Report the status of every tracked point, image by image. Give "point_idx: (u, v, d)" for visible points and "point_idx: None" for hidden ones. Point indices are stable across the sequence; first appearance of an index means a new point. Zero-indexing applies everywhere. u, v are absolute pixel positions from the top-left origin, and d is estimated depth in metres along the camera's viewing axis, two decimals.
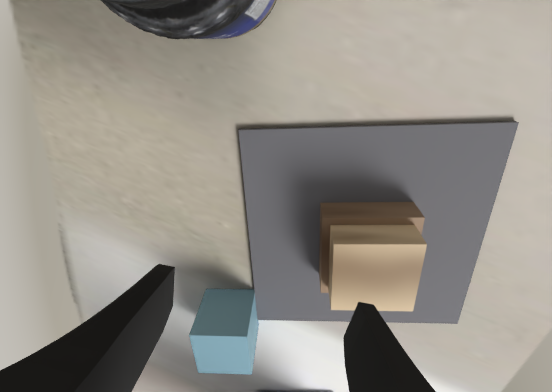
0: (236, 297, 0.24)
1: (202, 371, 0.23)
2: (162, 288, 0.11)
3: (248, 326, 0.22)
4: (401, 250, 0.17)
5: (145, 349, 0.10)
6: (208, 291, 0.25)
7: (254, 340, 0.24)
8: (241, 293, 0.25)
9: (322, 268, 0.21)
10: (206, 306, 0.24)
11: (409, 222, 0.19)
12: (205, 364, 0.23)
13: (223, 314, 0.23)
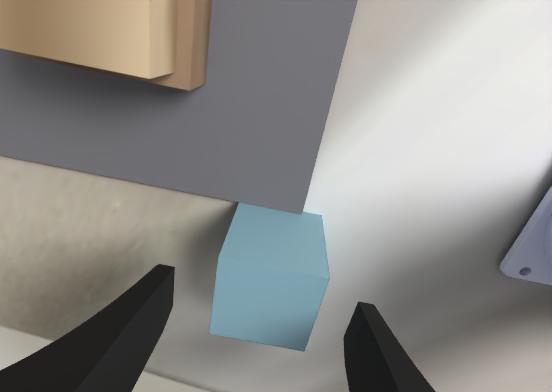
0: None
1: (302, 345, 0.13)
2: (162, 288, 0.11)
3: (225, 243, 0.12)
4: None
5: (145, 349, 0.10)
6: None
7: (303, 238, 0.13)
8: None
9: (126, 75, 0.10)
10: None
11: None
12: (282, 335, 0.13)
13: None
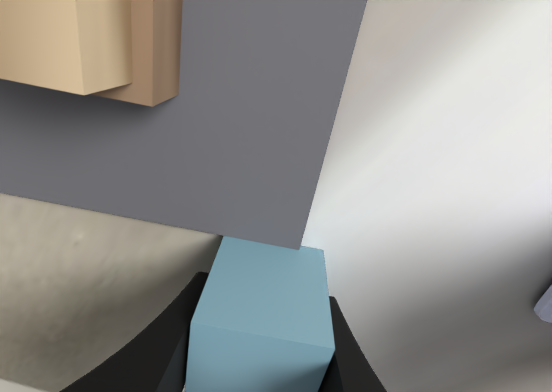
0: None
1: None
2: None
3: (202, 299, 0.09)
4: None
5: None
6: None
7: (300, 287, 0.10)
8: None
9: None
10: None
11: None
12: None
13: None
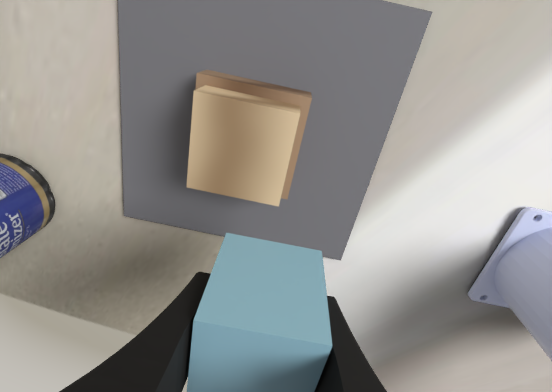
0: None
1: None
2: None
3: (204, 298, 0.10)
4: (200, 120, 0.15)
5: None
6: None
7: (299, 286, 0.11)
8: None
9: None
10: None
11: None
12: None
13: None
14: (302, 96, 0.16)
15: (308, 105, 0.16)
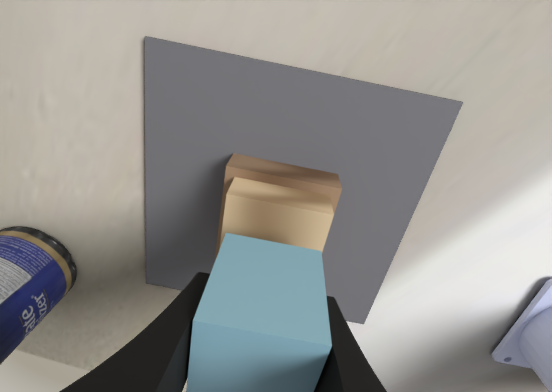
0: None
1: None
2: None
3: (203, 298, 0.10)
4: (232, 219, 0.15)
5: None
6: None
7: (299, 286, 0.11)
8: None
9: None
10: None
11: (231, 182, 0.16)
12: None
13: None
14: (332, 187, 0.16)
15: (338, 195, 0.16)
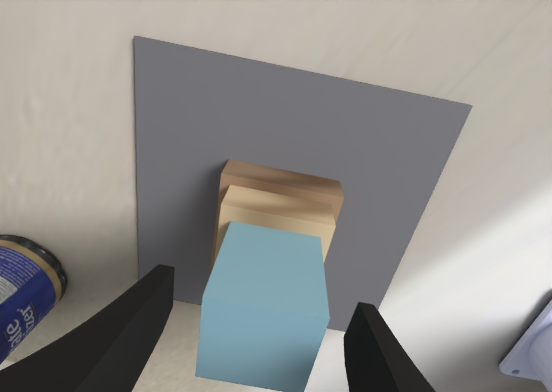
0: None
1: (300, 388, 0.11)
2: (162, 288, 0.11)
3: (211, 277, 0.10)
4: None
5: (145, 349, 0.10)
6: None
7: (299, 268, 0.12)
8: None
9: None
10: None
11: (226, 190, 0.15)
12: (278, 378, 0.11)
13: None
14: (334, 195, 0.15)
15: (340, 204, 0.15)
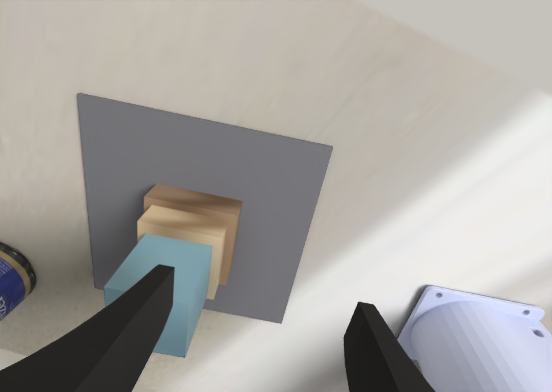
0: None
1: (182, 353, 0.16)
2: (162, 288, 0.11)
3: (115, 275, 0.15)
4: None
5: (145, 349, 0.10)
6: None
7: (184, 269, 0.16)
8: None
9: None
10: None
11: None
12: (165, 345, 0.16)
13: None
14: (230, 214, 0.20)
15: (235, 220, 0.20)
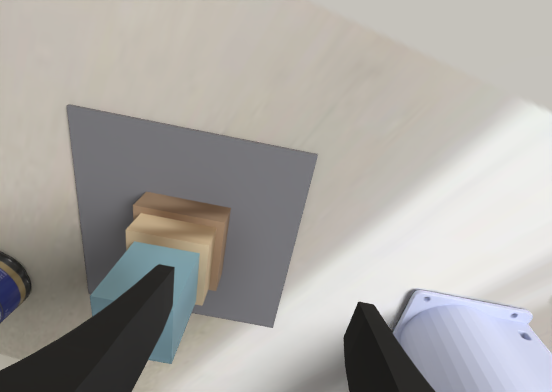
0: None
1: (168, 359, 0.17)
2: (162, 289, 0.11)
3: (101, 283, 0.16)
4: None
5: (145, 349, 0.10)
6: None
7: None
8: None
9: None
10: None
11: None
12: None
13: None
14: (217, 221, 0.20)
15: (223, 227, 0.20)
